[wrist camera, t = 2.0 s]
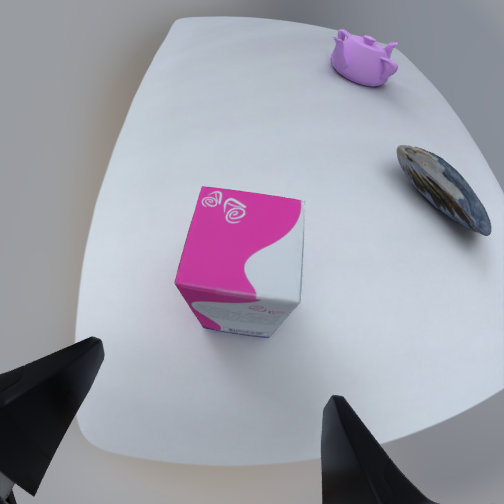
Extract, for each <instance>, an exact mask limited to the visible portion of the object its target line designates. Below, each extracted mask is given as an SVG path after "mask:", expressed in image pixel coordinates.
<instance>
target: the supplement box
mask: <svg viewBox="0 0 504 504" xmlns="http://www.w3.org/2000/svg"><path fill="white" fill-rule="evenodd" d="M304 213H305V201H303V200H297V199H291V198H285V197H279V196H272V195H265V194H259V193H251V192H244V191H236V190H229V189H221V188H213V187H204V186H202V188H201V191H200V194H199V197H198V201H197V204H196V208H195V211H194V215H193V218H192V221H191V224H190V228H189V231H188V235H187V238H186V241H185V245H184V249H183V252H182V256H181V260H180V263H179V267H178V271H177V275H176V279H175V285H176V286H177V288H178V290H179V291H180V293H181V294H182V296H183V297H184V299H185V300H186V302H187V303H188V305H189V307H190V308H191V310H192V311H193V313H194V314H195V316H196V317H197V319H198V320H199V322H200V323H201V325H202V327H204V328H207V329H212V330H217V331H222V332H228V333H235V334H241V335H248V336H256V337H265V338H269V337H270V336H271V335H272V333H273V332H274V331H275V330H276V329H277V328H278V327H279V326H280V325H281V323H282V322H283V321H284V320H285V319H286V318H287V317H288V316H289V315H290V313H291V312H292V311H293V310H294V309H295V308H296V307H297V306H298V304H299V303H300V300H301V286H302V269H303V247H304Z"/></svg>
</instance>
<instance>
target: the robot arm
mask: <svg viewBox="0 0 504 504" xmlns="http://www.w3.org/2000/svg"><path fill="white" fill-rule="evenodd" d="M103 360H104V349H103V343H102V340H101V339H99V338H96V337H93V336H92V337H89V338H87V339H85V340H82V341H80V342H78V343H75V344H73V345H71V346H68V347H66V348H64V349H62V350H59V351H57V352H54V353H52V354H50V355H48V356H46V357H43V358H40V359H38V360H36V361H33V362H32V363H28V364H26V365H25V366H21V367H19V368H16V369H14V370H11V371H9V372H6V373H3V374H0V504H17V503H16V500H15V497H14V494H13V491H12V488H13V486H14V484H15V483H16V484H17V485H18V486H20V487H21V488H22V489H24V490H25V491H26V492H28V493H29V494H31V495H32V496H35V494H36V492H37V490H38V488H39V485H40V483H41V481H42V479H43V477H44V475H45V473H46V470H47V468H48V466H49V464H50V462H51V460H52V458H53V456H54V454H55V452H56V450H57V448H58V446H59V444H60V442H61V440H62V439H63V437H64V435H65V433H66V431H67V429H68V427H69V425H70V424H71V422H72V420H73V418H74V416H75V415H76V413H77V411H78V409H79V408H80V406H81V404H82V402H83V401H84V399H85V397H86V395H87V394H88V392H89V390H90V388H91V386H92V384H93V382H94V380H95V377H96V375H97V373H98V371H99V369H100V366H101V364H102V362H103ZM321 462H322V463H321V464H322V504H439V503H435V502H433V501H431V500H429V499H428V498H427V497H425V496H424V495H423V494H422V493H421V492H420V491H419V490H418V489H417V488H416V487H415V486H414V485H413V484H412V483H411V482H410V481H409V480H408V479H407V478H406V477H405V475H404V474H403V473H402V472H401V471H400V470H399V469H398V467H397V466H396V465H395V464H394V463H393V461H392V460H391V459H390V458H389V456H388V455H387V454H386V452H385V451H384V450H383V448H382V447H381V446H380V444H379V443H378V442H377V440H376V439H375V438H374V436H373V435H372V434H371V433H370V431H369V430H368V429H367V427H366V426H365V425H364V423H363V422H362V421H361V419H360V418H359V417H358V415H357V414H356V413H355V411H354V410H353V409H352V407H351V406H350V405H349V403H348V402H347V401H346V399H345V398H344V397H343V396H339V395H333V396H331V398H330V399H329V401H328V403H327V404H326V406H325V407H324V410H323V421H322V436H321Z"/></svg>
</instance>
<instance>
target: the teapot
mask: <svg viewBox="0 0 504 504" xmlns="http://www.w3.org/2000/svg"><path fill="white" fill-rule="evenodd" d="M345 36H346V37H347V39H346V40H344V39H345ZM333 38H334V40H335V41H336V46H335V49H334V51H333V53H332V56H331V62H332V64H333V66H334V68H335V69H336V71H337V72H338V73H339V74H341V75H342V76H344V77H345V78H347V79H349V80H351V81H353V82H355V83H358V84H361V85H365V86H371V87H374V86H379V85H382V84H384V83H385V82H386V81H387V79H388V77H390V76H391V75H393V74H394V73H395V72H396V71H397V69H398V65H397V64H396V63H395V62H394V61H392V60H390V56H391V52H392V49H393V48H394V47H395V46H396V45H397V44H398V43H397V42H391V43H389V44H388V45H387V46H386V47H385V48H383V47H381V46H380V45H379V44H377V43H375V41H376V40H375V39H374V38H372V37H370V36H366V35H364V38H363V37H359V36H352V35H351V34H350V33H348V32H347V31H346V30H343V29H340V30H339V31H338V38H335V37H333Z"/></svg>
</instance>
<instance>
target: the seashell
mask: <svg viewBox="0 0 504 504" xmlns="http://www.w3.org/2000/svg"><path fill="white" fill-rule="evenodd" d="M397 157H398V161H399V163H400V165H401V167H402V169H403V171H404V172H405V174H406V175H407V177H408V179H409V180H410V181H411V183H412V184H413V185H414V186H415V188H416V189H417V190H418V191H419V192H420V193H422V194H423V195H424V196H425V197H426V198H427V199H428V200H429V201H430V202H431V203H432V204H433V205H434V206H435V207H436V208H437V209H439V210H440V211H442V212H443V213H445V214H446V215H447V216H449V217H450V218H452V219H453V220H455V221H456V222H459V223H461V224H463V225H464V226H465V227H467V228H469V229H470V230H473V231H475V232H478V233H480V234H482V235H485V236H488V235H490V233H491V223H490V219H489V217H488V214H487V212H486V210H485V208H484V206H483V205H482V203H481V202H480V200H479V199H478V197H477V196H476V194H475V193H474V191H473V190H472V188H471V187H470V186H469V184H468V183H467V182H466V180H465V179H464V178H463V177H462V176H461V175H460V174H459V173H458V172H457V171H456V170H455V169H454V168H453V167H452V166H451V165H450V164H448V163H447V162H446V161H445V160H444V159H442V158H440V157H439V156H437V155H435V154H434V153H431V152H428V151H426V150H424V149H421V148H418V147H411V146H405V145H401V146H398V148H397Z"/></svg>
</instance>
